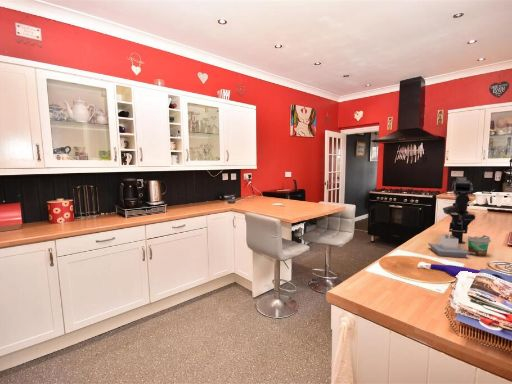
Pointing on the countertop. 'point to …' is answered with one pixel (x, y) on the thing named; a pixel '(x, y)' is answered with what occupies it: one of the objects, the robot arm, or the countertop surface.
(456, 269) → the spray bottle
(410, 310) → the countertop surface
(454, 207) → the robot arm
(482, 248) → the food container
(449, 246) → the housing
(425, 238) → the countertop surface
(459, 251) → the stand
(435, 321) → the countertop surface
